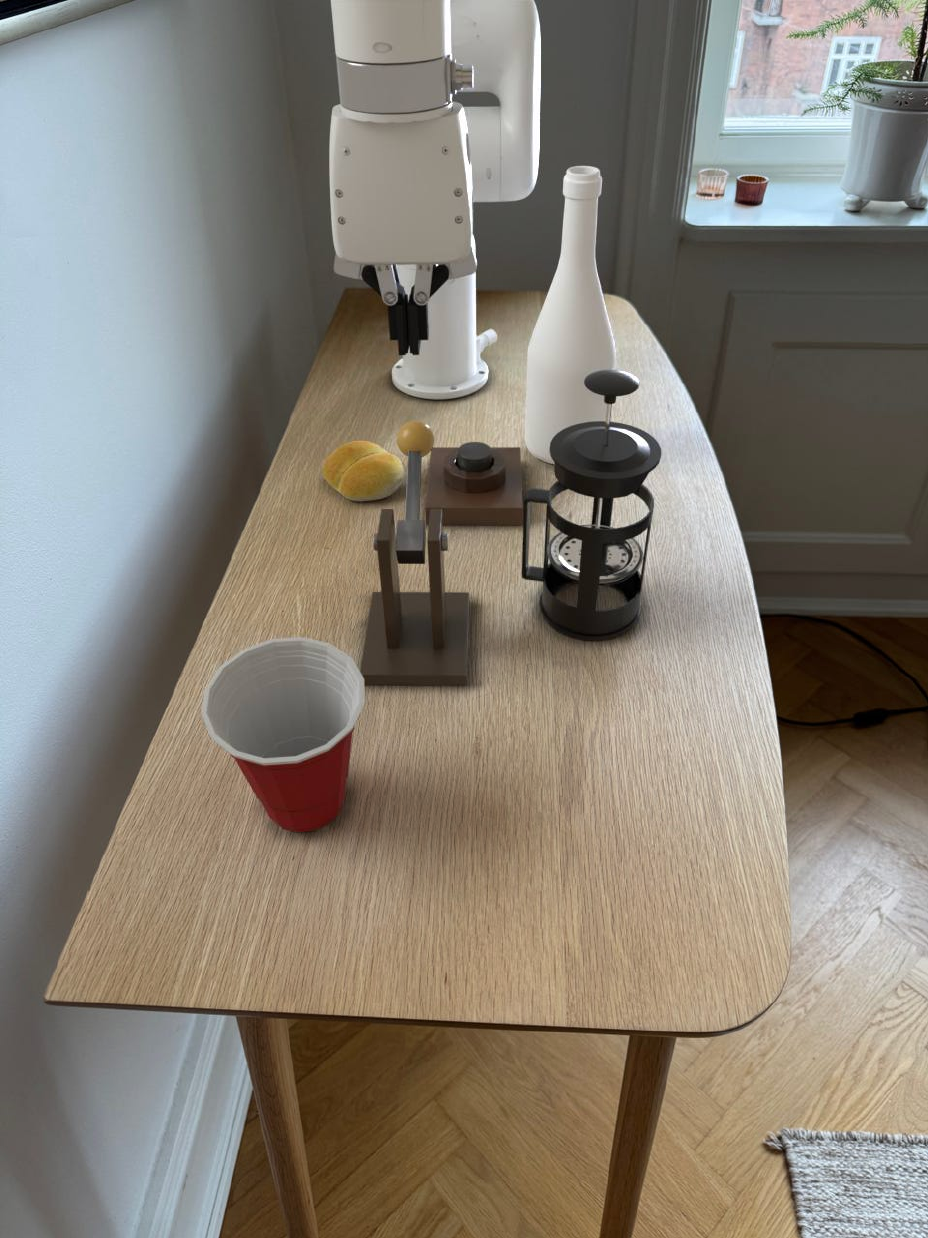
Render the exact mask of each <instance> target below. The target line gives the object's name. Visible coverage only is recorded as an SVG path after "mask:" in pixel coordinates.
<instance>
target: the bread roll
mask: <svg viewBox="0 0 928 1238" xmlns="http://www.w3.org/2000/svg"><path fill="white" fill-rule="evenodd" d="M404 472H405V471H404V466H403V463H402V460H401V459H400V458H399V457H398V456H396V455H394V454H392V453H390V452H389V453H388V452H387V451H386V450H385V449H384V448H383V447H382V446H380V445H378V444H376V443H374V442H372V441H368V440H352V441H350V442H346V443H344V444H342V445H340V446H338V447H337V448H336V449H335V450H334V451H333V452H331V453H330V454H329V455H328V457H327V458H326V460H325V462H324V463H323V467H322V475H323V477H324V479H325V482H327V484H328V485H329V486H330V487H331V488H332V489H333V490H335V491H336V492H338V493H340V495H341V496H343V497H344V498H346V499H347V500H349V501H351V502H369V501H370V502H371V501H378V500H382V499H385V498H388V497H390V496H391V495H393V494H394V493H395V492H397V491H398V490H399V488H400V487H401V485H402V484H403V481H404V476H405V473H404Z"/></svg>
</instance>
